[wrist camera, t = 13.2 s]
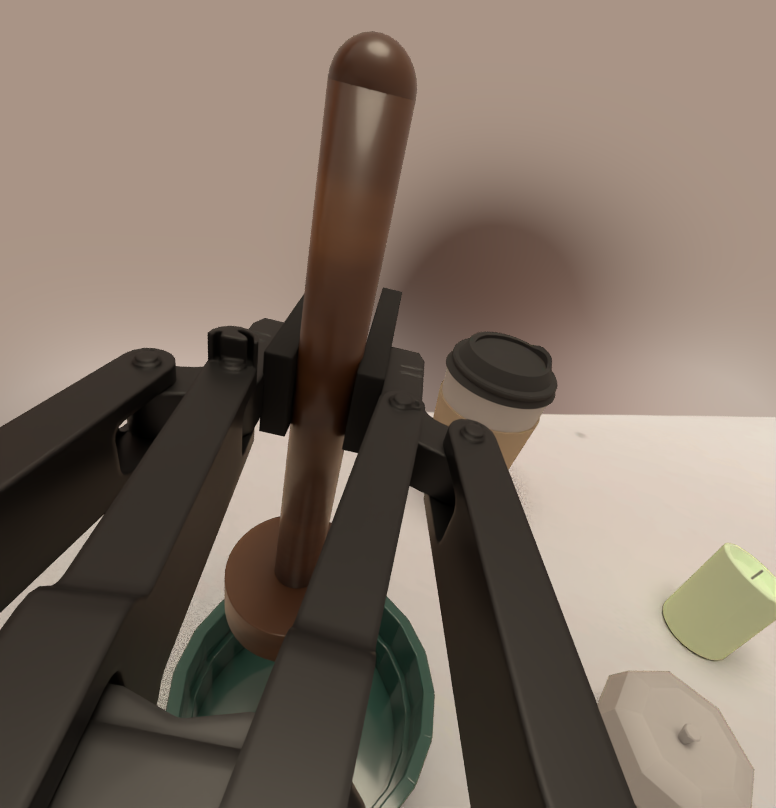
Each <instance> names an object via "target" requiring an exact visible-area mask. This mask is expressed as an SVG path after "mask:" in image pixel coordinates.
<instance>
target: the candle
mask: <svg viewBox="0 0 776 808" xmlns="http://www.w3.org/2000/svg"><path fill="white" fill-rule="evenodd" d="M663 614H664V618H665V621H666V623H667V625H668V627H669V628H670V630H671V631H672V633H673V634H674V635H675V637H676V638H677V639H678V640H679V641H680V642H681V643H682V644H683V645H685V646H686V647H687V648H688V649H689V650H691V651H693V652H694V653H696V654H698V655H699V656H702V657H704V658H707V659H710V660H716V661H717V660H723V659H724V658H725V657H727V656H728V655H730V654H731V653H732V652H734V651H735V650H736V649H738V648H739V647H740V646H742V645H743V644H744V643H746V642H747V641H748V640H750V639H751V638H752V637H754V636H755V635H756V634H758V633H759V632H760V631H762V630H763V629H764V628H766V627H767V626H768V625H770V624H771V623H773V622H774V621H775V620H776V577H775V576H774V575H773V574H772V573H771V572H770V571H769V570H768V569H767V568H766V567H765V566H764V565H763V564H762V563H760V562H759V561H758V560H757V559H756V558H755V557H753V556H752V555H751V554H749V553H748V552H747V551H745V550H744V549H742V548H740V547H739V546H737V545H735V544H731V543H725V544H724V545H723V546H722V547H721V548H720V549H719V550H718V551H717V552H716V553H715V554H714V555H713V556H712V557H711V558H710V559H709V560H707V561H706V562H705V563H704V564H703V565H702V566H701V567H700V568H699V569H698V570H697V571H696V572H695V573H694V574H693V575H692V576H691V577H690V578H689V579H688V580H687V581H686V582H685V583H684V584H683V585H682V586H681V587H680V588H679V589H678V590H677V591H676V592H675V593H674V594H672V595H671V596H670V597H669V598H668V599H667V600H666V602H665V603H664V605H663Z"/></svg>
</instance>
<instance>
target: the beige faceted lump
mask: <svg viewBox="0 0 776 808" xmlns="http://www.w3.org/2000/svg"><path fill="white" fill-rule="evenodd" d="M598 708H599V711H600V713H601V716H602V719H603V721H604V724H605V726H606V729H607V732H608V734H609V737H610V740H611V742H612V745H613V748H614V750H615V753H616V755H617V758H618V761H619V763H620V766H621V769H622V771H623V774H624V777H625V779H626V782H627V784H628V787H629V790H630V792H631V795H632V798H633V800H634V803H635V805H636V807H637V808H752V794H753V781H754V768H753V766H752V765H751V763H750V761H749V760H748V758H747V756H746V754H745V753H744V751H743V749H742V748H741V746H740V744H739V743H738V741H737V739H736V737H735V736H734V734H733V732H732V731H731V729H730V727H729V726H728V724H727V722H726V720H725V719H724V717H723V715H722V714H721V712H720V710H719V709H718V708H717V707H716V706H714V705H713V704H712V703H710V702H709V701H708V700H706V699H705V698H704V697H702V696H701V695H700V694H698V693H697V692H696V691H694V690H693V689H692V688H690V687H689V686H688V685H686V684H685V683H684V682H683V681H681V680H680V679H679V678H677V677H676V676H675V675H673V674H672V673H671V672H669V671H626V672H621V673H617V674H613V675H609V677H608V680H607V682H606V685H605V687H604V690H603V692H602V695H601V697H600V700H599V702H598Z"/></svg>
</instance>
